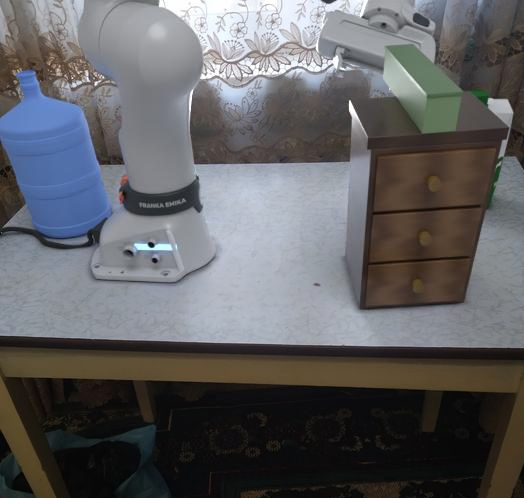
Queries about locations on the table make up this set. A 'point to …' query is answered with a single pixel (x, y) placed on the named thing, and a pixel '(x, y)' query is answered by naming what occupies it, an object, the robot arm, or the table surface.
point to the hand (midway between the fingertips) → (366, 82)
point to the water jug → (54, 162)
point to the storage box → (422, 88)
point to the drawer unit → (417, 201)
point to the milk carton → (505, 114)
